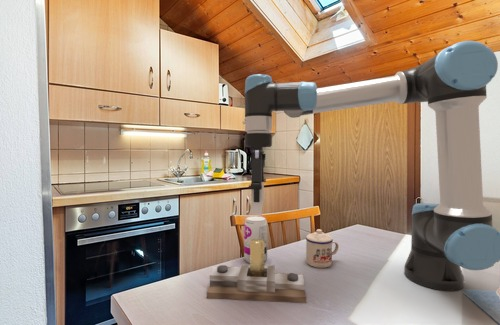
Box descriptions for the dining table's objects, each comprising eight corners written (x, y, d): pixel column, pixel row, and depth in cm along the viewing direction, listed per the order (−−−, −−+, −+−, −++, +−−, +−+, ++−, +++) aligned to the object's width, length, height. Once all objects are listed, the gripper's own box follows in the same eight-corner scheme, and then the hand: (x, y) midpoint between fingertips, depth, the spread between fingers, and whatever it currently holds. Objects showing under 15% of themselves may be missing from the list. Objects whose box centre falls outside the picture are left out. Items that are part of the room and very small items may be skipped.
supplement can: (247, 265, 92) (247, 222, 92) (241, 256, 100) (241, 216, 100) (270, 263, 95) (270, 220, 94) (262, 254, 103) (263, 214, 102)
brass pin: (260, 278, 80) (260, 238, 80) (266, 284, 77) (266, 242, 76) (247, 280, 79) (247, 239, 78) (253, 287, 75) (254, 244, 74)
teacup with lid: (313, 269, 89) (313, 234, 89) (301, 259, 98) (301, 227, 98) (345, 265, 92) (345, 232, 92) (330, 255, 101) (331, 224, 101)
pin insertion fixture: (301, 278, 83) (301, 261, 83) (306, 302, 70) (306, 281, 70) (216, 275, 85) (216, 258, 85) (206, 297, 72) (206, 277, 72)
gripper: (248, 135, 89) (248, 200, 90) (239, 129, 64) (239, 219, 65) (272, 135, 88) (271, 200, 89) (271, 129, 63) (271, 220, 64)
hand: (258, 208), depth 77 cm, fingers open, 13 cm apart
